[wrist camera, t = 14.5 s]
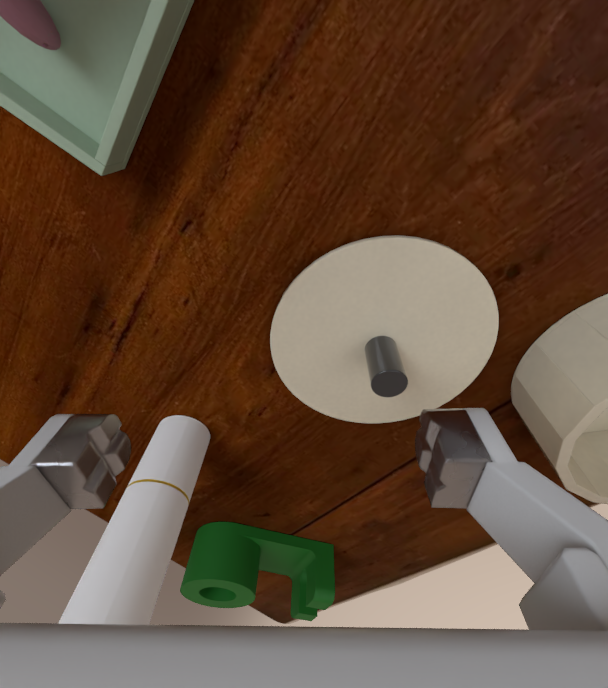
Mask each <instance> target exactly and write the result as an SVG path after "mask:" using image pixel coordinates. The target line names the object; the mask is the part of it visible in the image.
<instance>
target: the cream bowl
mask: <svg viewBox="0 0 608 688" xmlns="http://www.w3.org/2000/svg"><path fill="white" fill-rule="evenodd" d="M511 397H512V403H513V405H514V407H515V410H516V411H517V413H518V414H519V416H520V418H521V420H522V422H523V423H524V425H525V426H526V428H527V430H528V431H529V433H530V434H531V436H532V437H533V439H534V440H535V442H536V443H537V445H538V447H539V448H540V450H541V451H542V453H543V454H544V456H545V457H546V459H547V461H548V462H549V464H550V465H551V467H552V468H553V470H554V471H555V473H556V474H557V476H558V478H559V479H560V481H561V482H562V484H563V485H564V487H565V488H566V489H567V490H569V491H571V492H573V493H575V494H577V495H579V496H581V497H583V498H585V499H587V500H589V501H591V502H596V503H604V504H608V294H606V295H604V296H601V297H599V298H597V299H594V300H592V301H591V302H589V303H587V304H585V305H583V306H581V307H579V308H577V309H576V310H574V311H572V312H571V313H569V314H568V315H566V316H564V317H563V318H562V319H560V320H559V321H558V322H556V323H555V324H554V325H552V326H551V327H550V328H549V329H548V330H547V331H545V332H544V333H543V334H542V335H541V336H540V337H539V338H538V339H537V340H536V341H535V342H534V343H533V344H532V345H531V347H530V348H529V349H528V351H527V352H526V353H525V354H524V356H523V357H522V359H521V361H520V363H519V364H518V366H517V368H516V371H515V373H514V376H513V380H512V384H511Z"/></svg>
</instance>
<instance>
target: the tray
mask: <svg viewBox="0 0 608 688" xmlns="http://www.w3.org/2000/svg"><path fill="white" fill-rule="evenodd" d="M41 2H42V4H43V5H44V7H45V8H46V10H47V12H48V13H49V15H50V16H51V18H52V20H53V22H54V24H55V26H56V28H57V31H58V32H59V34H60V40H61V46H60V48H59V49H57V50H49V49H46V48H43V47H41V46H39V45H37V44H35V43H34V42H32V41H31V40H29V39H27V38H26V37H24V36H23V35H21V34H20V33H19V32H18V31H17V30H16V29H14V28H13V27H12V26H11V25H10V24H8V23H7V22H6V21H5V20H4V19H3V18H2V17H1V16H0V106H2V107H3V108H4V109H6V110H7V111H9V112H10V113H12V114H13V115H15V116H16V117H17V118H19V119H20V120H22V121H23V122H25V123H26V124H27V125H29V126H30V127H32V128H33V129H35V130H36V131H38V132H39V133H40V134H42V135H43V136H45V137H46V138H48V139H49V140H50V141H52V142H53V143H55V144H56V145H58V146H59V147H61V148H62V149H63V150H65V151H66V152H68V153H69V154H71V155H72V156H73V157H75V158H76V159H78V160H79V161H81V162H82V163H83V164H85V165H86V166H88V167H89V168H91V169H92V170H94V171H95V172H96V173H98V174H99V175H101V176H104V175H107V174H110V173H113V172H116V171H120V170H122V169H125V167H126V165H127V162H128V160H129V158H130V155H131V153H132V150H133V148H134V145H135V143H136V141H137V138H138V136H139V133H140V131H141V129H142V126H143V124H144V121H145V119H146V116H147V114H148V112H149V109H150V107H151V104H152V102H153V99H154V97H155V95H156V92H157V90H158V87H159V85H160V82H161V80H162V78H163V75H164V73H165V70H166V68H167V65H168V63H169V61H170V58H171V56H172V53H173V51H174V48H175V46H176V44H177V41H178V39H179V36H180V34H181V32H182V29H183V27H184V24H185V22H186V19H187V17H188V15H189V12H190V10H191V7H192V5H193V2H194V0H41Z"/></svg>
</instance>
